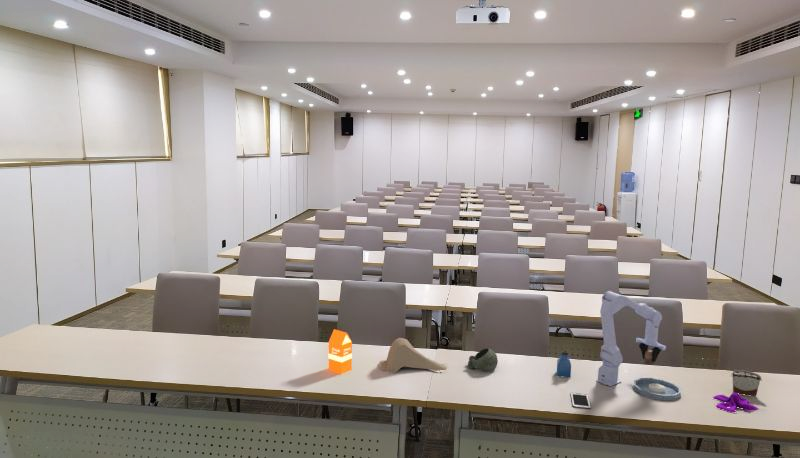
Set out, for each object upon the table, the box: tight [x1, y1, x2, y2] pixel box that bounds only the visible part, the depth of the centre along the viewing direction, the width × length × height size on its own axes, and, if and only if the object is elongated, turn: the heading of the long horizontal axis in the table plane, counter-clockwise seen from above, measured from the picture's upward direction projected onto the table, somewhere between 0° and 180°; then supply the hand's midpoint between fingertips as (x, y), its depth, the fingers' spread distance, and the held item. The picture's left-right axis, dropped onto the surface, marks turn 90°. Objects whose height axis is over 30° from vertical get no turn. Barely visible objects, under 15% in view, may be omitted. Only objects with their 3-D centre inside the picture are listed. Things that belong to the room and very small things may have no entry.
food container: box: [730, 369, 763, 397], centre depth 268 cm, size 12×6×10 cm, turn 71°
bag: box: [379, 337, 448, 374], centre depth 290 cm, size 19×17×35 cm
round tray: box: [633, 377, 682, 401], centre depth 268 cm, size 20×20×2 cm
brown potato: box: [643, 349, 655, 366], centre depth 283 cm, size 4×4×6 cm
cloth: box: [712, 392, 760, 413], centre depth 254 cm, size 22×19×6 cm
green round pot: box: [467, 347, 499, 372], centre depth 291 cm, size 15×15×10 cm
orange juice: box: [328, 328, 353, 375], centre depth 283 cm, size 8×9×20 cm
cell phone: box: [570, 392, 592, 410], centre depth 255 cm, size 8×15×1 cm, turn 167°
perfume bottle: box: [556, 350, 572, 378], centre depth 284 cm, size 6×6×12 cm
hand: (649, 360), depth 283 cm, fingers closed on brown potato, 4 cm apart
